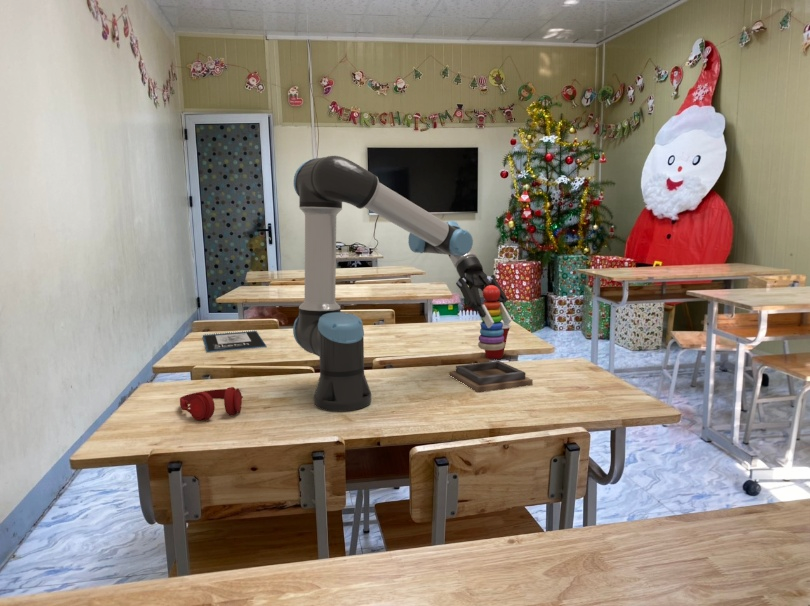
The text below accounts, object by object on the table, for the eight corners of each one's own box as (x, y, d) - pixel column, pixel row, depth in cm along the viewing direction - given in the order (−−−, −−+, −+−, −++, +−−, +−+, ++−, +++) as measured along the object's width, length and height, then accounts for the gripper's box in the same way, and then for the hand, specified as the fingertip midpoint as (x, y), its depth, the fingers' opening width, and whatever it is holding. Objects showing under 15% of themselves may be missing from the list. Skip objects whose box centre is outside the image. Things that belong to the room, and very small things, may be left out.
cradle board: (477, 392, 165) (478, 380, 165) (449, 376, 182) (449, 365, 181) (532, 384, 172) (532, 373, 171) (500, 369, 188) (500, 359, 188)
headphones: (251, 414, 149) (232, 403, 166) (248, 386, 148) (230, 378, 166) (189, 425, 141) (176, 413, 159) (187, 396, 141) (174, 387, 159)
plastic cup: (510, 361, 198) (511, 326, 197) (478, 360, 201) (478, 325, 199) (511, 354, 209) (511, 320, 207) (480, 352, 211) (480, 319, 209)
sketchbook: (206, 355, 216) (206, 349, 215) (202, 338, 243) (202, 333, 243) (266, 349, 223) (266, 343, 223) (256, 333, 251) (256, 329, 251)
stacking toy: (510, 348, 175) (511, 285, 172) (490, 352, 170) (490, 288, 167) (492, 343, 181) (492, 282, 178) (472, 347, 177) (472, 285, 174)
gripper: (485, 269, 190) (518, 327, 179) (436, 273, 181) (468, 335, 169) (496, 253, 185) (531, 313, 173) (446, 257, 175) (479, 319, 164)
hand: (499, 323), depth 171 cm, fingers closed on stacking toy, 6 cm apart
